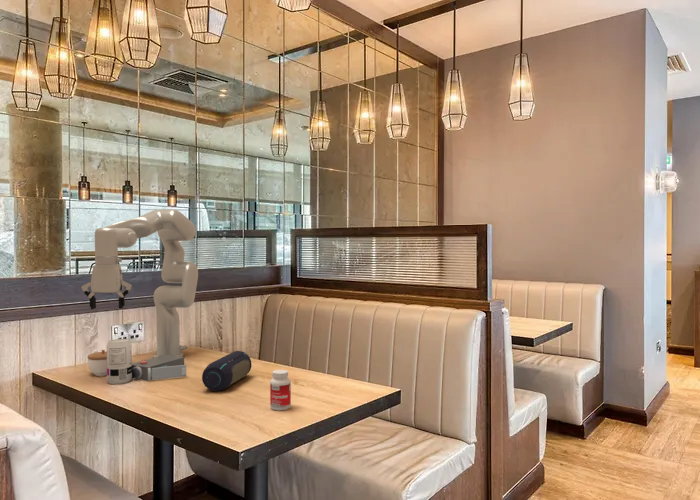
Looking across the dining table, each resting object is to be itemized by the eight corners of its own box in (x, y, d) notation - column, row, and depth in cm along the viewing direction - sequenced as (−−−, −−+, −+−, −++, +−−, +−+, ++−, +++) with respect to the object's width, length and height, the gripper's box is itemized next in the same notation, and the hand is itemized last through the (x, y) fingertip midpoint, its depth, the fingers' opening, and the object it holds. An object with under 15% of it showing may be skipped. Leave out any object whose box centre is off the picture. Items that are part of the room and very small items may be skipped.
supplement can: (102, 383, 185) (101, 341, 185) (121, 377, 192) (121, 337, 192) (117, 385, 181) (116, 343, 181) (136, 380, 189) (136, 339, 188)
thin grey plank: (186, 375, 193) (186, 364, 192) (186, 376, 191) (186, 365, 191) (152, 379, 188) (151, 368, 188) (152, 380, 187) (152, 368, 187)
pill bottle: (268, 411, 153) (268, 374, 153) (272, 404, 159) (271, 369, 159) (289, 411, 153) (289, 373, 153) (292, 404, 159) (291, 368, 159)
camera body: (164, 367, 208) (164, 353, 208) (186, 370, 203) (186, 356, 203) (125, 378, 191) (124, 363, 191) (147, 382, 186) (147, 366, 186)
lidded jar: (124, 370, 203) (123, 347, 203) (108, 378, 192) (108, 353, 192) (98, 370, 204) (98, 346, 204) (81, 377, 193) (81, 352, 193)
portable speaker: (226, 394, 170) (226, 364, 170) (198, 393, 172) (198, 363, 172) (255, 375, 195) (255, 349, 195) (230, 374, 197) (230, 348, 197)
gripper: (134, 261, 193) (134, 306, 193) (85, 261, 190) (86, 307, 191) (128, 261, 185) (128, 309, 185) (77, 262, 183) (78, 310, 183)
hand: (107, 308), depth 188 cm, fingers open, 9 cm apart
